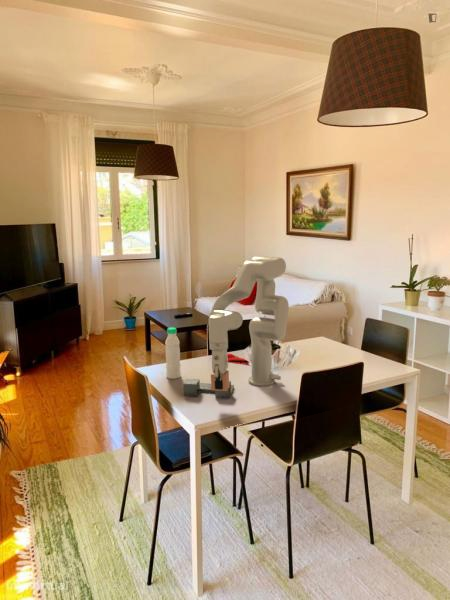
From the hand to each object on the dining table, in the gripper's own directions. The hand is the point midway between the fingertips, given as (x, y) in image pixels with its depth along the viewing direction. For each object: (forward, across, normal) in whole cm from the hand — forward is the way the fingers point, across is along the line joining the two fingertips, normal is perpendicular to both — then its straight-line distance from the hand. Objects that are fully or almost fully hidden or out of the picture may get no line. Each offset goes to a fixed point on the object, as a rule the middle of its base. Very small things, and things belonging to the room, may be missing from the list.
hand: (220, 385), depth 189 cm
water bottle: (+10, +31, +30) cm, 45 cm away
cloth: (+12, +62, +5) cm, 63 cm away
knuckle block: (+1, 0, 0) cm, 1 cm away
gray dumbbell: (+10, +14, +8) cm, 19 cm away
